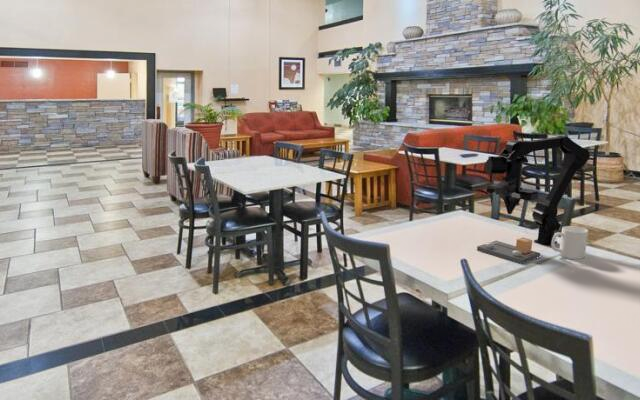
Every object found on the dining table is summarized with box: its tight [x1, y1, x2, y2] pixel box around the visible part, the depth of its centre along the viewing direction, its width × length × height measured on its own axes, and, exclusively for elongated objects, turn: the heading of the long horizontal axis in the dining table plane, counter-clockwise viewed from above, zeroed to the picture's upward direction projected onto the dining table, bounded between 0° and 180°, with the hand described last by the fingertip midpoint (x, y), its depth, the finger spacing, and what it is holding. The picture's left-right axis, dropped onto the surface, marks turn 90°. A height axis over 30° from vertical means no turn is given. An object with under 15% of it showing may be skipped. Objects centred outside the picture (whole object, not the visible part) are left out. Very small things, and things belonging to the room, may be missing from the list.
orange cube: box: [515, 237, 533, 254], centre depth 177 cm, size 4×4×4 cm
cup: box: [550, 225, 589, 261], centre depth 177 cm, size 8×12×10 cm
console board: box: [476, 240, 541, 264], centre depth 180 cm, size 12×18×3 cm, turn 37°
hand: (509, 214), depth 189 cm, fingers closed
